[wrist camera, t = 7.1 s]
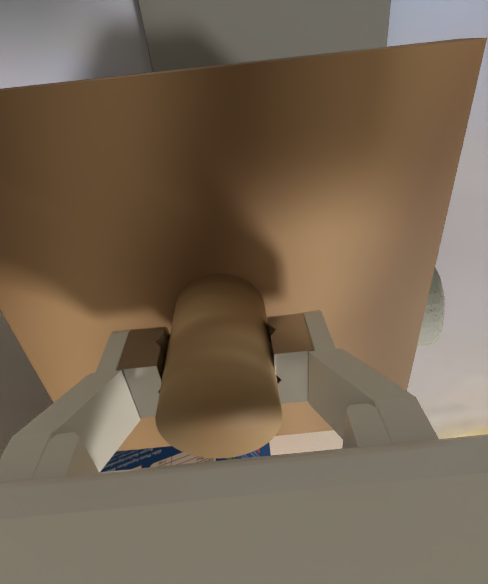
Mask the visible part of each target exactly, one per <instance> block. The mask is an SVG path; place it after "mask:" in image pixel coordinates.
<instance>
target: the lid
mask: <svg viewBox="0 0 488 584" xmlns="http://www.w3.org/2000/svg"><path fill="white" fill-rule="evenodd" d="M486 40H487V38H467V39H454V40H445V41H436V42H426V43H417V44H408V45H399V46H390V47H380V48H371V49H362V50H353V51H344V52H335V53H325V54H316V55H307V56H298V57H289V58H279V59H270V60H261V61H252V62H243V63H233V64H224V65H215V66H206V67H197V68H187V69H178V70H169V71H160V72H151V73H142V74H132V75H123V76H114V77H105V78H96V79H86V80H77V81H68V82H59V83H50V84H40V85H31V86H22V87H13V88H4V89H0V310H1V312H2V314H3V315H4V317H5V319H6V321H7V322H8V324H9V326H10V328H11V329H12V331H13V333H14V335H15V336H16V338H17V340H18V342H19V343H20V345H21V347H22V349H23V350H24V352H25V354H26V356H27V357H28V359H29V361H30V363H31V364H32V366H33V368H34V370H35V371H36V373H37V375H38V377H39V378H40V380H41V382H42V384H43V385H44V387H45V389H46V391H47V392H48V394H49V396H50V398H51V399H52V401H53V403H54V402H55V401H56V400H58V399H59V398H60V397H61V396H63V395H64V394H65V393H66V392H67V391H69V390H70V389H71V388H72V387H74V386H75V385H76V384H77V383H79V382H80V381H81V380H82V379H83V378H85V377H86V376H87V375H88V374H90V373H95V372H96V369H97V367H98V364H99V362H100V359H101V356H102V354H103V351H104V349H105V346H106V344H107V341H108V339H109V336H110V334H111V333H112V332H114V331H121V330H132V329H143V328H156V327H167V328H168V330H169V333H170V338H169V344H168V349H167V355H166V361H165V366H164V372H163V377H162V383H161V388H160V394H159V399H158V405H157V410H156V416H154V417H146V418H140V421H139V423H138V424H137V425H136V426H135V428H134V429H133V430H132V432H131V433H130V434H129V435H128V437H127V438H126V439H125V441H124V442H123V443H122V444H121V446H120V447H119V448H118V450H117V451H126V450H136V449H146V448H156V447H167V446H173V447H174V448H176V449H178V450H180V451H182V452H185V453H187V454H190V455H194V456H198V457H204V458H230V457H237V456H241V455H245V454H248V453H250V452H253V451H255V450H257V449H259V448H261V447H263V446H264V445H266V444H267V443H268V442H269V441H271V440H272V439H273V438H274V437H275V436H279V435H289V434H299V433H309V432H319V431H330V430H334V429H333V428H332V427H331V426H330V425H329V424H328V423H327V422H326V421H325V420H324V419H323V418H322V417H321V416H320V415H319V414H318V413H317V412H316V411H315V409H314V408H313V407H312V406H311V405H310V404H309V403H308V402H295V403H281V402H280V396H279V390H278V384H277V378H276V373H275V369H274V363H273V357H272V350H271V342H270V338H269V332H268V325H267V317H269V316H278V315H287V314H297V313H302V312H309V311H317V310H320V311H321V312H322V313H323V316H324V319H325V321H326V324H327V327H328V329H329V332H330V334H331V337H332V340H333V342H334V345H335V348H336V349H338V348H342V349H343V350H345V351H346V352H348V353H349V354H351V355H352V356H354V357H355V358H357V359H358V360H360V361H361V362H363V363H365V364H366V365H368V366H369V367H371V368H372V369H374V370H375V371H377V372H378V373H380V374H381V375H383V376H384V377H386V378H387V379H389V380H390V381H392V382H393V383H395V384H396V385H398V386H399V387H401V388H402V389H404V390H405V391H407V387H408V383H409V378H410V374H411V370H412V365H413V361H414V356H415V352H416V348H417V343H418V339H419V334H420V330H421V326H422V321H423V317H424V312H425V308H426V304H427V299H428V295H429V290H430V286H431V282H432V277H433V273H434V268H435V264H436V260H437V255H438V251H439V246H440V242H441V238H442V233H443V229H444V224H445V220H446V216H447V211H448V207H449V203H450V198H451V194H452V189H453V185H454V181H455V176H456V172H457V167H458V163H459V159H460V154H461V150H462V145H463V141H464V137H465V132H466V128H467V123H468V119H469V115H470V110H471V106H472V101H473V97H474V93H475V88H476V84H477V79H478V75H479V71H480V66H481V62H482V57H483V53H484V49H485V44H486Z"/></svg>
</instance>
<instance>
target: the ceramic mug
mask: <svg viewBox="0 0 488 584" xmlns="http://www.w3.org/2000/svg"><path fill="white" fill-rule="evenodd" d="M444 313H445V298H444V291H443V288H442V283H441V279H440V276H439V274H438V272H437V270H436V268H434V273H433V277H432V282H431V286H430V290H429V295H428V299H427V304H426V308H425V312H424V317H423V321H422V326H421V330H420V334H419V339H418V343H417V346H423V345H429V344H432V343H433V342H435V341H436V340H437V338H438V337H439V335H440V333H441V330H442V326H443V320H444Z"/></svg>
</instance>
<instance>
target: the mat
mask: <svg viewBox="0 0 488 584" xmlns="http://www.w3.org/2000/svg"><path fill="white" fill-rule="evenodd" d="M138 1H139V6H140V11H141V15H142V20H143V25H144V30H145V35H146V40H147V45H148V50H149V55H150V59H151V64H152V69H153V72H160V71H169V70H178V69H187V68H197V67H206V66H215V65H224V64H233V63H243V62H252V61H261V60H270V59H279V58H289V57H298V56H307V55H316V54H325V53H335V52H344V51H353V50H362V49H371V48H380V47H386V46H387V36H388V26H389V15H390V5H391V0H138Z"/></svg>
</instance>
